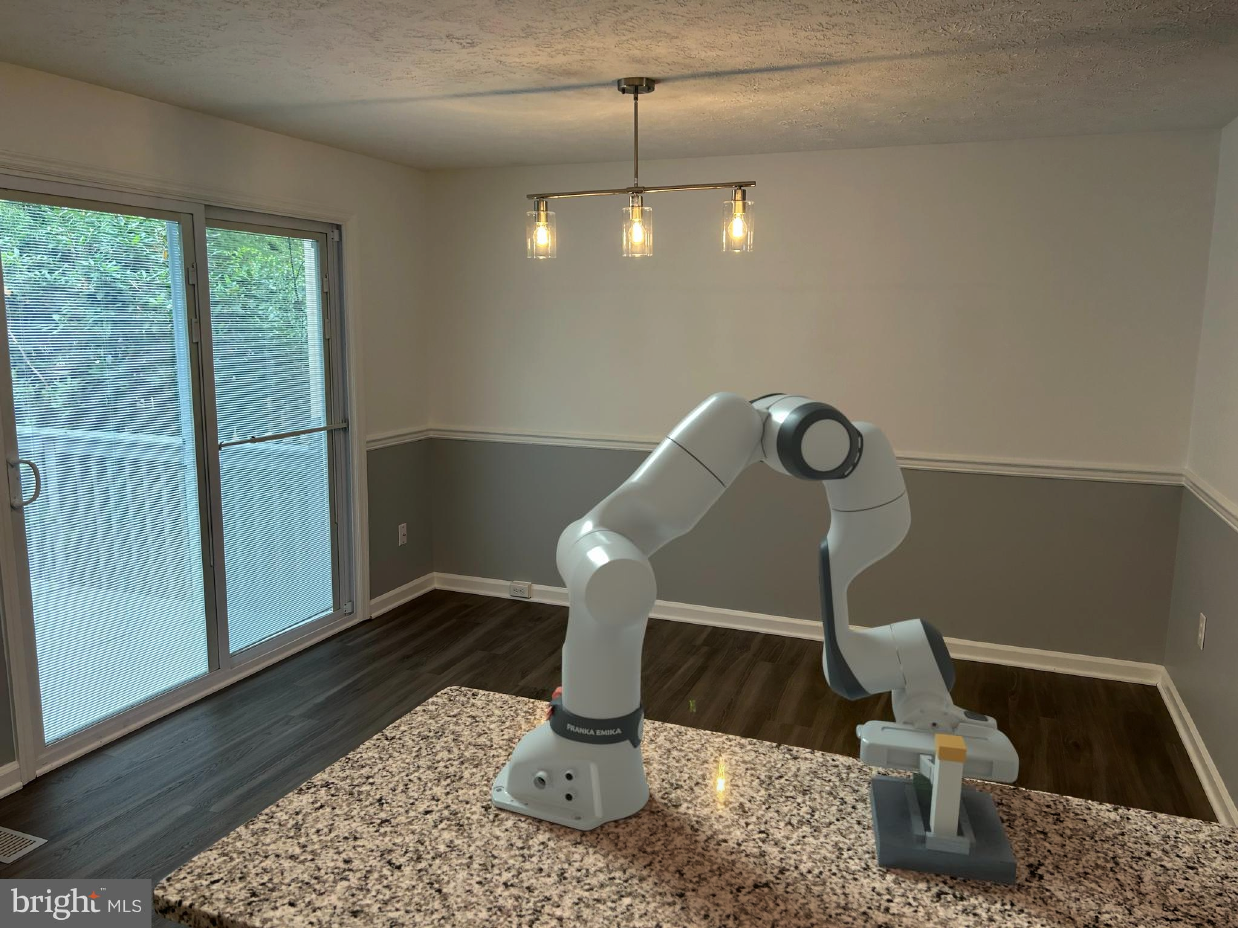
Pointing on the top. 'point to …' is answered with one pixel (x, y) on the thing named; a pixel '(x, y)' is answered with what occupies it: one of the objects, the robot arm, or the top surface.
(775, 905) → the top surface
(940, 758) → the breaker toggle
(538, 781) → the robot arm
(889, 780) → the dark grey flat bar
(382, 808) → the top surface
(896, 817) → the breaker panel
